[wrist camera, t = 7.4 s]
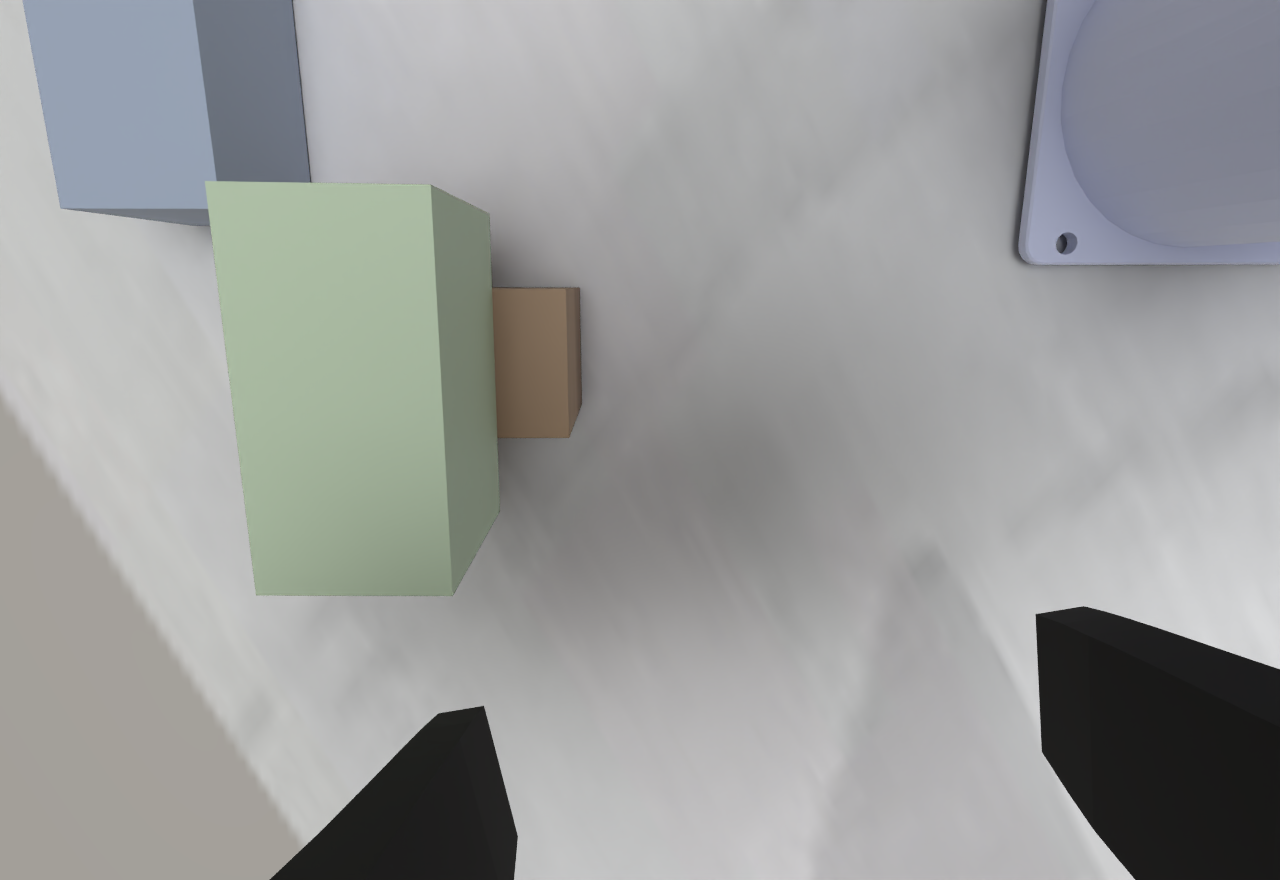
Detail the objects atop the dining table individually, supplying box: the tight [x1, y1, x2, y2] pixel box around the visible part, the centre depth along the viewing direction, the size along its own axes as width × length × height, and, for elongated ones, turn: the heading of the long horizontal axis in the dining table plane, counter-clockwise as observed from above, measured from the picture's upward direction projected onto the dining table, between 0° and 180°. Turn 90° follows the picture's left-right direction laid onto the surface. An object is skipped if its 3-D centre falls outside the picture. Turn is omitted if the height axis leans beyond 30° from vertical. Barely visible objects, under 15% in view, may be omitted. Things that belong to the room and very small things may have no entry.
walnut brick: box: [492, 287, 582, 438], centre depth 16 cm, size 6×3×4 cm, turn 90°
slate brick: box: [23, 0, 310, 226], centre depth 14 cm, size 6×3×4 cm, turn 0°
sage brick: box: [205, 181, 500, 596], centre depth 12 cm, size 6×3×4 cm, turn 179°
